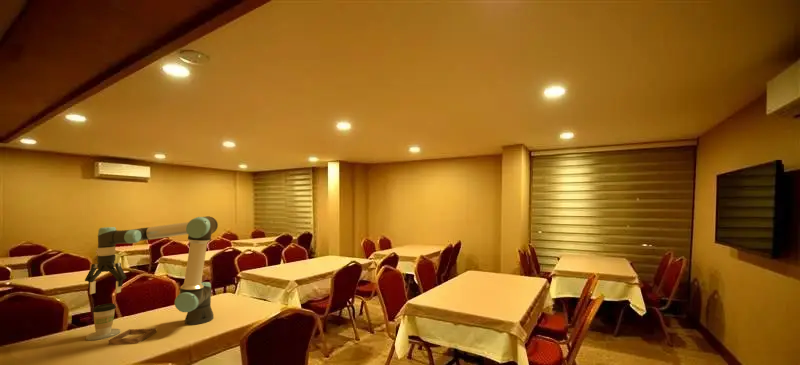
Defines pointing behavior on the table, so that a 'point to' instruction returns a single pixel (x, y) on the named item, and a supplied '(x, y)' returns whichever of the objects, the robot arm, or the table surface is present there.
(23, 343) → the table surface
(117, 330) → the coaster
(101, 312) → the coffee cup
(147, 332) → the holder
